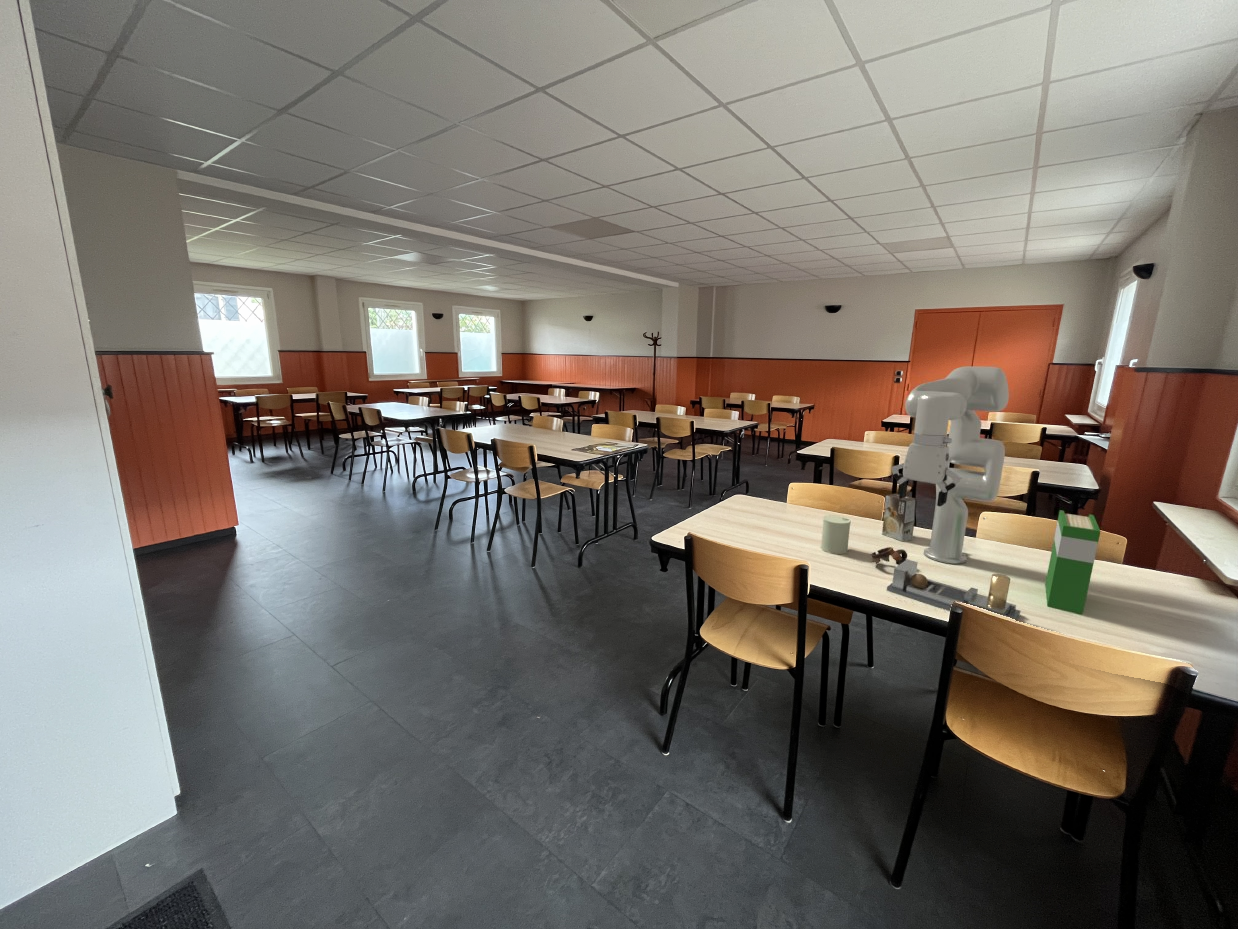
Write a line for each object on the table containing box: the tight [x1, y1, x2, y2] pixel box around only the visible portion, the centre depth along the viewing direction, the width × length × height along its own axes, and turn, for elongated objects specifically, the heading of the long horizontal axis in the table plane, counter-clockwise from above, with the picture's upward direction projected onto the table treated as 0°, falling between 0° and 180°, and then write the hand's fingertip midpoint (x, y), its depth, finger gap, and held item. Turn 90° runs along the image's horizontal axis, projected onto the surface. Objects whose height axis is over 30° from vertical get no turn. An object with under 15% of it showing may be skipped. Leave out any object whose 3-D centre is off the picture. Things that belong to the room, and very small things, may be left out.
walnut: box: [911, 573, 928, 589], centre depth 150 cm, size 4×4×4 cm
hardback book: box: [1044, 509, 1102, 615], centre depth 145 cm, size 18×7×24 cm, turn 142°
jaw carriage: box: [964, 573, 1012, 616], centre depth 137 cm, size 7×9×10 cm
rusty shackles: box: [870, 546, 908, 566], centre depth 168 cm, size 12×10×8 cm
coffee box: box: [881, 493, 918, 542], centre depth 195 cm, size 9×6×16 cm
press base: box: [886, 558, 1021, 621], centre depth 144 cm, size 12×30×7 cm, turn 41°
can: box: [820, 514, 852, 555], centre depth 183 cm, size 9×9×12 cm
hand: (920, 501), depth 140 cm, fingers open, 9 cm apart
